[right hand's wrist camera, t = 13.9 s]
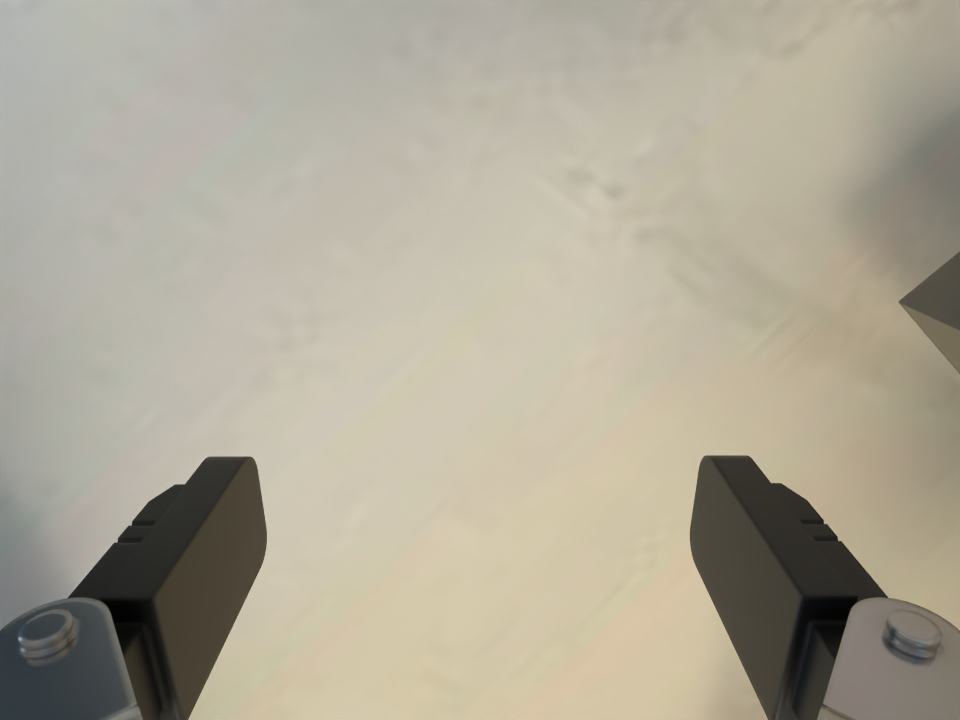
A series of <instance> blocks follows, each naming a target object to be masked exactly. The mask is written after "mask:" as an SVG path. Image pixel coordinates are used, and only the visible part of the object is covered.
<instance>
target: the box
mask: <svg viewBox="0 0 960 720" xmlns="http://www.w3.org/2000/svg"><path fill="white" fill-rule="evenodd" d="M899 303H900V305H901V306H902V307H903V308H904V309H905V310H906V312H907V313H908V314H909V315H910V316H911V318H912V319H913V320H914V321H915V322H916V323H917V325H918V326H919V327H920V328H921V329H922V330H923V332H924V333H925V334H926V335H927V336H928V337H929V339H930V340H931V341H932V342H933V343H934V344H935V346H936V347H937V348H938V349H939V350H940V352H941V353H942V354H943V355H944V356H945V357H946V359H947V360H948V361H949V362H950V363H951V364H952V366H953V367H954V368H955V369H956V370H957V371H958V373H959V374H960V252H959V253H957V254H956V255H955V256H954V257H953V258H951V259H950V260H949V261H948V262H946V263H945V264H944V265H943V266H942V267H940V268H939V269H938V270H937V271H935V272H934V273H933V274H932V275H930V276H929V277H928V278H927V279H926V280H924V281H923V282H922V283H921V284H919V285H918V286H917V287H916V288H915V289H913V290H912V291H911V292H910V293H908V294H907V295H906V296H905V297H904V298H902V299H901V300H900V301H899Z"/></svg>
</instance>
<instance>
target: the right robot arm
mask: <svg viewBox="0 0 960 720" xmlns="http://www.w3.org/2000/svg"><path fill="white" fill-rule="evenodd" d="M266 543H267V530H266V523H265V516H264V509H263V503H262V496H261V489H260V482H259V476H258V469H257V465H256V462H255V460H254V459H253V458H252V457H207V458H206V459H205V460H204V461H203V462H202V463H201V465H200V466H199V467H198V468H197V470H196V471H195V472H194V474H193V475H192V476H191V477H190V479H189V480H188V481H187V482H186V484H185V485H174V486H172V487H171V488H169V489H168V490H166V491H165V492H163V493H161V494H160V495H158V496H157V497H155V498H154V499H152V500H151V501H149V502H148V503H147V505H146V506H145V507H144V508H143V509H142V510H141V512H140V513H139V514H138V515H137V516H136V518H135V519H134V520H133V521H132V526H128V527H127V528H126V529H125V531H124V532H123V533H122V534H121V535H120V537H119V538H118V542H117V543H114V544H113V545H112V546H111V547H110V548H109V550H108V551H107V552H106V553H105V554H104V556H103V557H102V558H101V559H100V560H99V562H98V563H97V564H96V565H95V566H94V567H93V569H92V570H91V571H90V572H89V573H88V575H87V576H86V577H85V578H84V579H83V581H82V582H81V583H80V584H79V585H78V586H77V588H76V589H75V590H74V591H73V592H72V594H71V595H70V596H69V597H68V598H67V599H62V600H58V601H54V602H51V603H48V604H45V605H42V606H40V607H37V608H35V609H32V610H31V611H29V612H27V613H25V614H23V615H21V616H19V617H18V618H16V619H15V620H13V621H12V622H10V623H9V624H8V625H6V626H5V627H4V628H3V629H1V630H0V720H188V719H189V716H190V714H191V712H192V710H193V708H194V706H195V704H196V702H197V700H198V698H199V696H200V693H201V691H202V689H203V687H204V685H205V683H206V681H207V679H208V677H209V675H210V673H211V670H212V668H213V666H214V664H215V662H216V660H217V658H218V656H219V654H220V652H221V650H222V647H223V645H224V643H225V641H226V639H227V637H228V635H229V633H230V631H231V629H232V627H233V624H234V622H235V620H236V618H237V616H238V614H239V612H240V610H241V608H242V606H243V604H244V601H245V599H246V597H247V595H248V593H249V591H250V589H251V587H252V585H253V583H254V580H255V578H256V576H257V574H258V572H259V570H260V568H261V566H262V563H263V560H264V556H265V551H266ZM690 544H691V551H692V556H693V560H694V563H695V565H696V567H697V569H698V571H699V574H700V576H701V578H702V580H703V582H704V584H705V586H706V588H707V591H708V593H709V595H710V597H711V599H712V601H713V603H714V605H715V607H716V610H717V612H718V614H719V616H720V618H721V620H722V622H723V624H724V627H725V629H726V631H727V633H728V635H729V637H730V639H731V641H732V643H733V646H734V648H735V650H736V652H737V654H738V656H739V658H740V660H741V663H742V665H743V667H744V669H745V671H746V673H747V675H748V677H749V679H750V682H751V684H752V686H753V688H754V690H755V692H756V694H757V696H758V699H759V701H760V703H761V705H762V707H763V709H764V711H765V713H766V715H767V718H768V720H960V630H959V629H957V628H956V627H955V626H954V625H952V624H951V623H950V622H948V621H947V620H945V619H944V618H942V617H941V616H939V615H937V614H935V613H933V612H931V611H929V610H928V609H925V608H923V607H920V606H918V605H915V604H912V603H909V602H906V601H902V600H898V599H892V598H888V597H887V596H886V594H885V593H884V592H883V591H882V590H881V588H880V587H879V586H878V585H877V584H876V582H875V581H874V580H873V579H872V578H871V576H870V575H869V574H868V573H867V572H866V570H865V569H864V568H863V567H862V566H861V564H860V563H859V562H858V561H857V560H856V558H855V557H854V556H853V555H852V554H851V552H850V551H849V550H848V549H847V548H846V546H845V545H844V544H843V543H842V542H841V541H838V539H837V536H836V535H835V533H834V532H833V531H832V530H831V529H830V527H829V526H828V525H827V524H824V520H823V519H822V518H821V517H820V515H819V514H818V513H817V512H816V511H815V509H814V508H813V507H812V506H811V505H810V503H809V502H808V501H807V500H806V499H804V498H803V497H801V496H800V495H798V494H796V493H795V492H793V491H792V490H790V489H789V488H787V487H786V486H784V485H783V484H781V483H770V481H769V480H768V479H767V477H766V476H765V475H764V474H763V472H762V471H761V470H760V468H759V467H758V466H757V465H756V463H755V462H754V461H753V459H752V458H751V457H749V456H704V457H703V459H702V460H701V463H700V467H699V472H698V479H697V486H696V493H695V500H694V506H693V513H692V520H691V527H690Z"/></svg>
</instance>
